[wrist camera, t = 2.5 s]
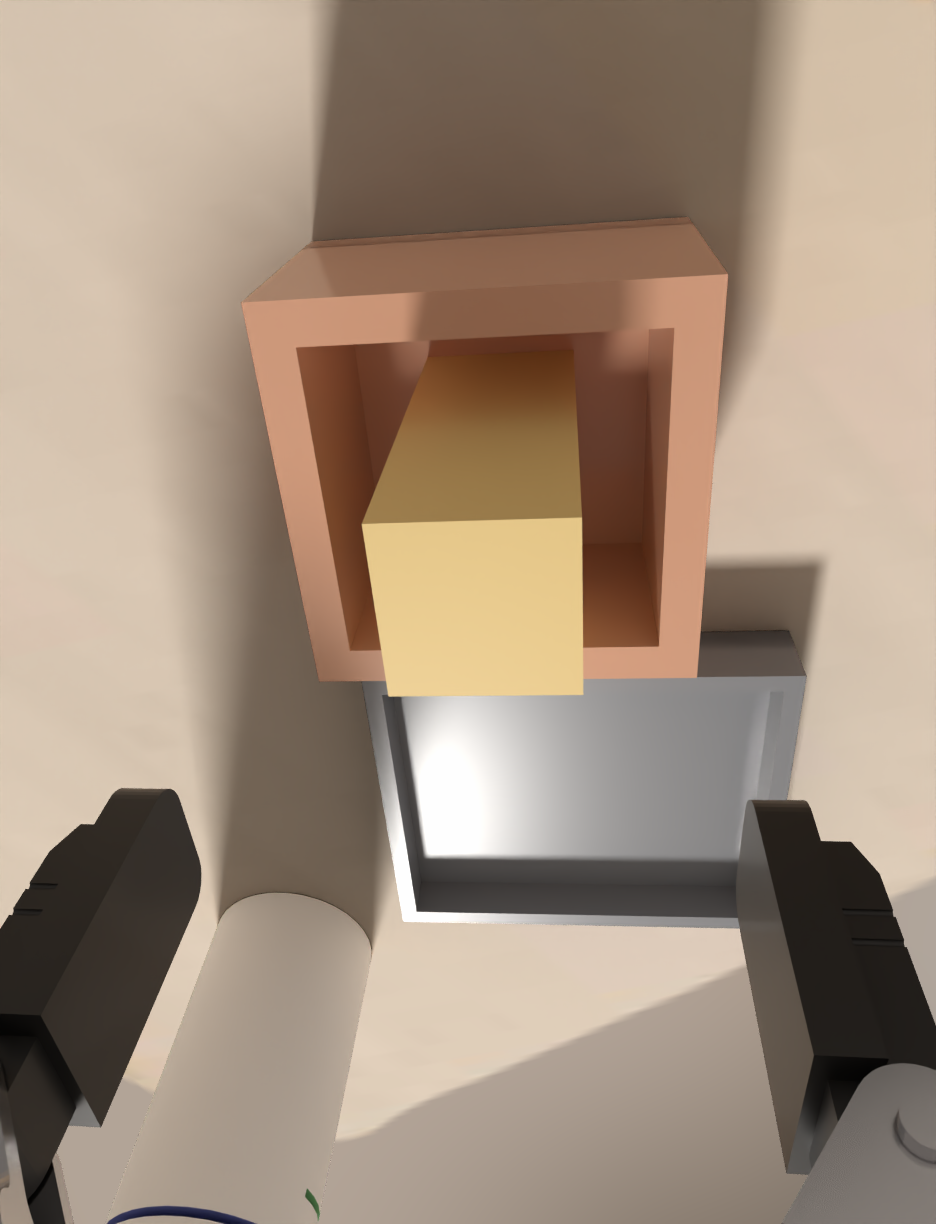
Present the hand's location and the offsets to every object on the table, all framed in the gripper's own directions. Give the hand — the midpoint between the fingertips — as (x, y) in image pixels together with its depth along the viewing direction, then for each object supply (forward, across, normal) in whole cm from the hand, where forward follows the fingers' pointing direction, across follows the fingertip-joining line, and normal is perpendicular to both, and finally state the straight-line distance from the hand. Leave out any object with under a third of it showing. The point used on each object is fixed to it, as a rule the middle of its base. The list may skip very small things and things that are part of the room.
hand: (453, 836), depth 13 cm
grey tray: (+17, -2, +14) cm, 22 cm away
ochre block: (+16, 0, 0) cm, 16 cm away
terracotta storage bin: (+17, 0, 0) cm, 17 cm away
